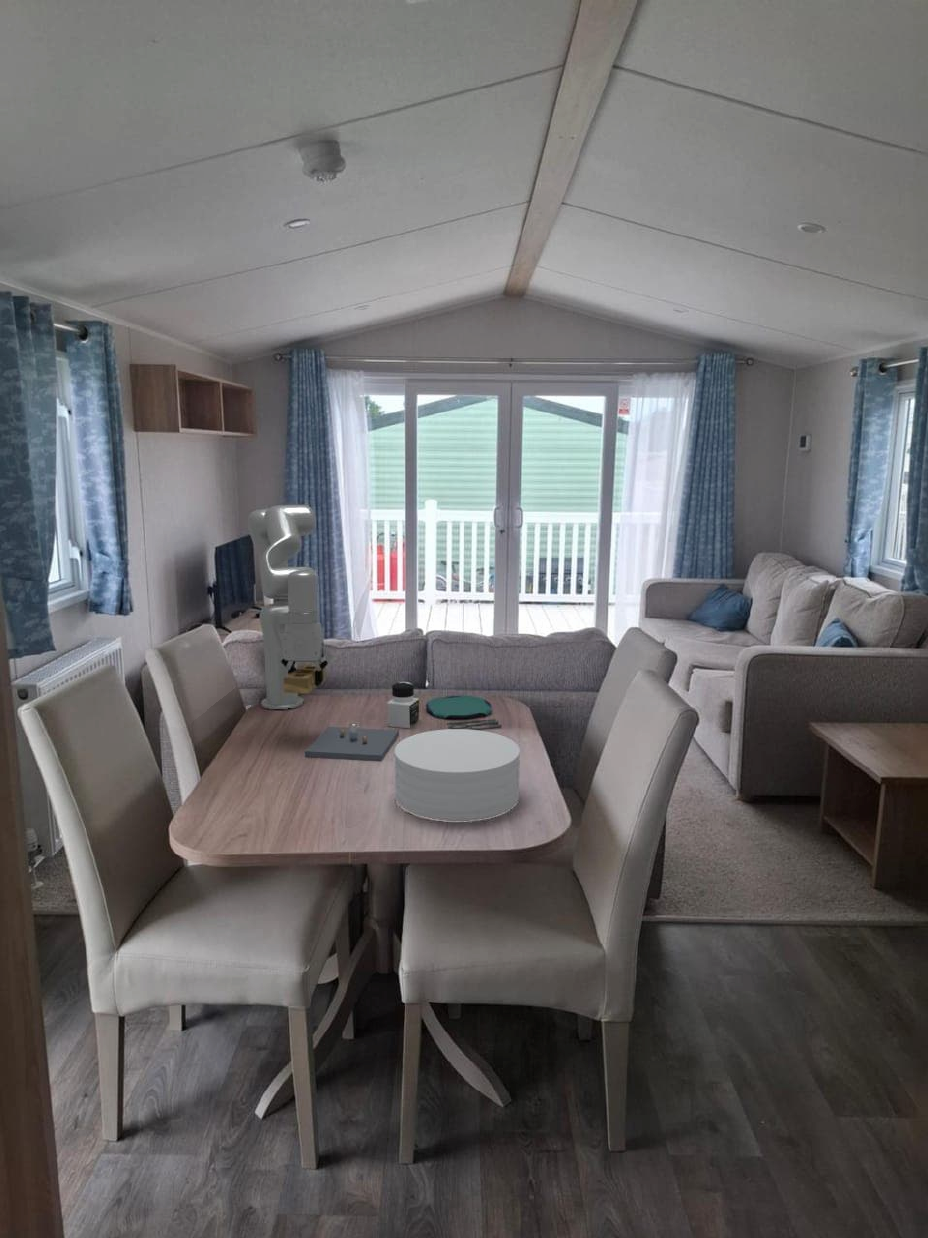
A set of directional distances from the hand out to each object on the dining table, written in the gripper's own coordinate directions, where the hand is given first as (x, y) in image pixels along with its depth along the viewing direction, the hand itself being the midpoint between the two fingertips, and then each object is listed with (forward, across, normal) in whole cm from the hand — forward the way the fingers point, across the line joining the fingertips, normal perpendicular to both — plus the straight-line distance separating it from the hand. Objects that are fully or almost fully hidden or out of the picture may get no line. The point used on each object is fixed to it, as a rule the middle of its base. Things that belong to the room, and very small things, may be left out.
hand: (305, 683), depth 225 cm
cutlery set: (+17, +37, +30) cm, 51 cm away
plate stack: (+17, +46, -30) cm, 58 cm away
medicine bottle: (+16, +22, +19) cm, 33 cm away
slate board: (+16, +13, -2) cm, 21 cm away
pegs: (+15, +13, -2) cm, 20 cm away
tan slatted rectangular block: (+1, 0, 0) cm, 1 cm away
